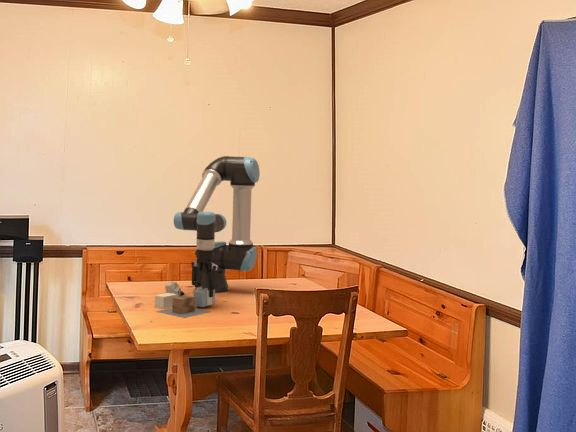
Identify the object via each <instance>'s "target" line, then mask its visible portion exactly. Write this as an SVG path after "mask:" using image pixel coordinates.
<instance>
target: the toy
mask: <svg viewBox="0 0 576 432" xmlns="http://www.w3.org/2000/svg"><path fill="white" fill-rule="evenodd" d="M164 290H165V293H173V294H177V297H178V296H183V295H186V294H185V292H184V291H182V289H181V287H180V285H179V284H178V282H177V281H172V280H171V281H170V280H169V281H168V282H167V284H166V285H165V286H164Z"/></svg>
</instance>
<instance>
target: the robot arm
mask: <svg viewBox="0 0 576 432" xmlns="http://www.w3.org/2000/svg"><path fill="white" fill-rule="evenodd" d="M224 181H226V182H230V183H229V185H230V186H231V188H232V189H233V193H232V194H233V195H232V223H231V225H232V226H231V227H232V228H231V239H230V240H229V241H228V244H227V242H226V241H215V239H216V238H215V237H216V233H219V232H221V231H223V230H224V229H225V228H226V227H227V219H226V217H225V216H224V215H223V214H220V213H215V212H212V211H204V210H205V209H206V207H207V205H208V203H209V201H210V199H211V197H212V195H213V193H214V191H215V190H216V188H217V187H218V186H219V185H220V184H221V183H222V182H224ZM259 181H260V166H259V163H258V161H257V159H256V158H255V157H249V156H231V155H230V156H229V155H224V156H223V155H222V156H220V157H218V158H215V160H213V161H211V162H210V163H209V164H208V165H207V166H206V167H205V169H203V172H202V173H201V180H200V182H199V184H198V185H197V186H196V189H195V191H194V192H193V194H192V196H191V198H190V199H189V201H188V203H187V205H186V207H185V208H184V210H183V212H182V211H180V212H179V211H178V212H176V213H175V214H174V217H173V225H174V228H175V229H177V230H182V231H196V248H197V249H196V251H195V253H196V254H195V257H196V261H191V263H190V264H191V285H192V286H193V287H195V289H194V291H196V290H201V289H205V288H208V289H207V304H206V305H208V306H211V304H212V297H213V290H215V293H222V292H227V291H228V290H229V284H228V280H227V276H226V270H230V271H240V272H249V271H251V270H253V268H254V266H255V264H256V262H257V257H258V249H257V247H255V246H254V242H253V241H252V240H251V222H252V221H251V219H252V217H251V214H252V190H253V188H255V186H256V183H258V182H259ZM212 305H213V304H212Z"/></svg>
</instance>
